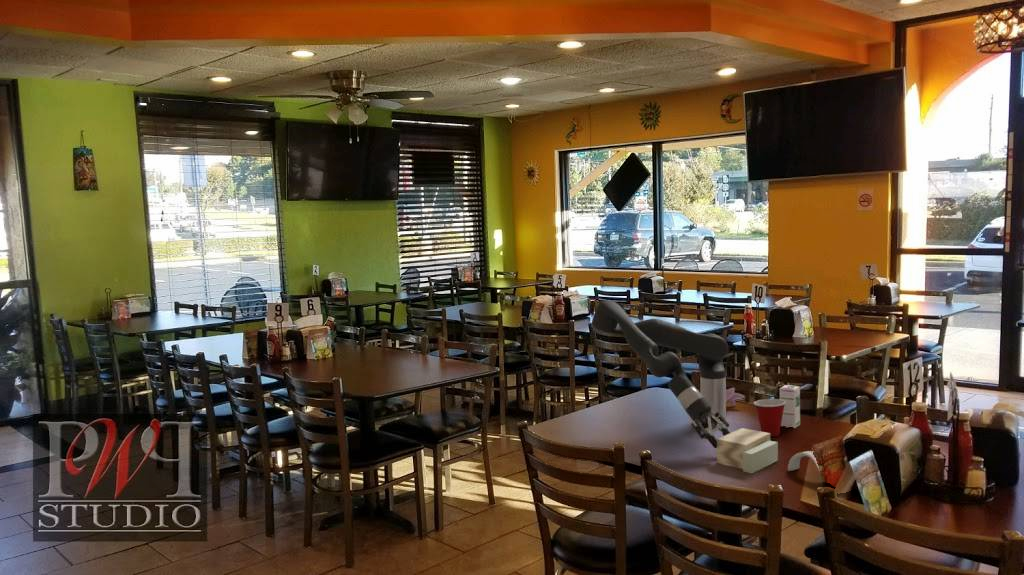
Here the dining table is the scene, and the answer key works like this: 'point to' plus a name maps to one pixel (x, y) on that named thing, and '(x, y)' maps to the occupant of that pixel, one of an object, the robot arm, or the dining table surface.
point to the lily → (732, 396)
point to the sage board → (760, 456)
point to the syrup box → (790, 405)
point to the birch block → (738, 446)
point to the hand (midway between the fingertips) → (724, 443)
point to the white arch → (796, 458)
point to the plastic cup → (770, 415)
